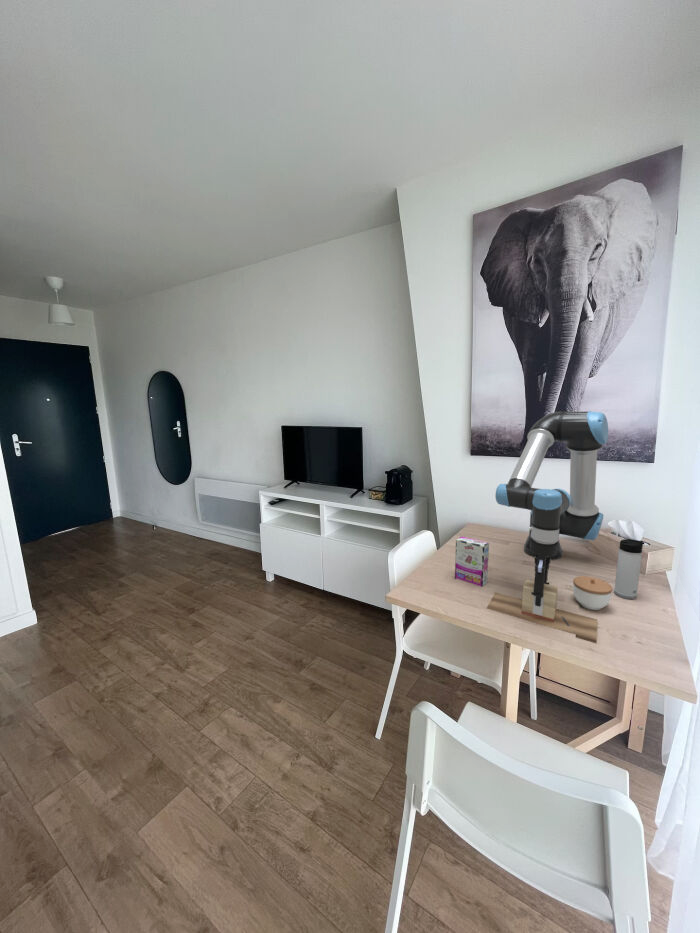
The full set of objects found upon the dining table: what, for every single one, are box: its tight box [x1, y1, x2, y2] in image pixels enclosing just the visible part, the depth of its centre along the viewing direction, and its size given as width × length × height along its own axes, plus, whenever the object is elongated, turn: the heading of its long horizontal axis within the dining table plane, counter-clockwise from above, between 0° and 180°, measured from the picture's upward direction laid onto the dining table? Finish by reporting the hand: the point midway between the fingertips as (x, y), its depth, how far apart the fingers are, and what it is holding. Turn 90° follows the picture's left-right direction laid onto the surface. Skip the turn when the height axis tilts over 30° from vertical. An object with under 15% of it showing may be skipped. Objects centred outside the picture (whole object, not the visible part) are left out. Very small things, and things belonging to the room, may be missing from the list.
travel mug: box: [613, 538, 645, 600], centre depth 125 cm, size 6×7×20 cm
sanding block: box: [522, 579, 559, 622], centre depth 115 cm, size 6×9×9 cm, turn 56°
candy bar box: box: [454, 536, 490, 587], centre depth 137 cm, size 11×5×16 cm, turn 47°
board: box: [486, 592, 598, 644], centre depth 115 cm, size 12×30×1 cm, turn 55°
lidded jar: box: [572, 575, 613, 611], centre depth 120 cm, size 11×11×9 cm
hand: (538, 608), depth 115 cm, fingers closed on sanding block, 6 cm apart
